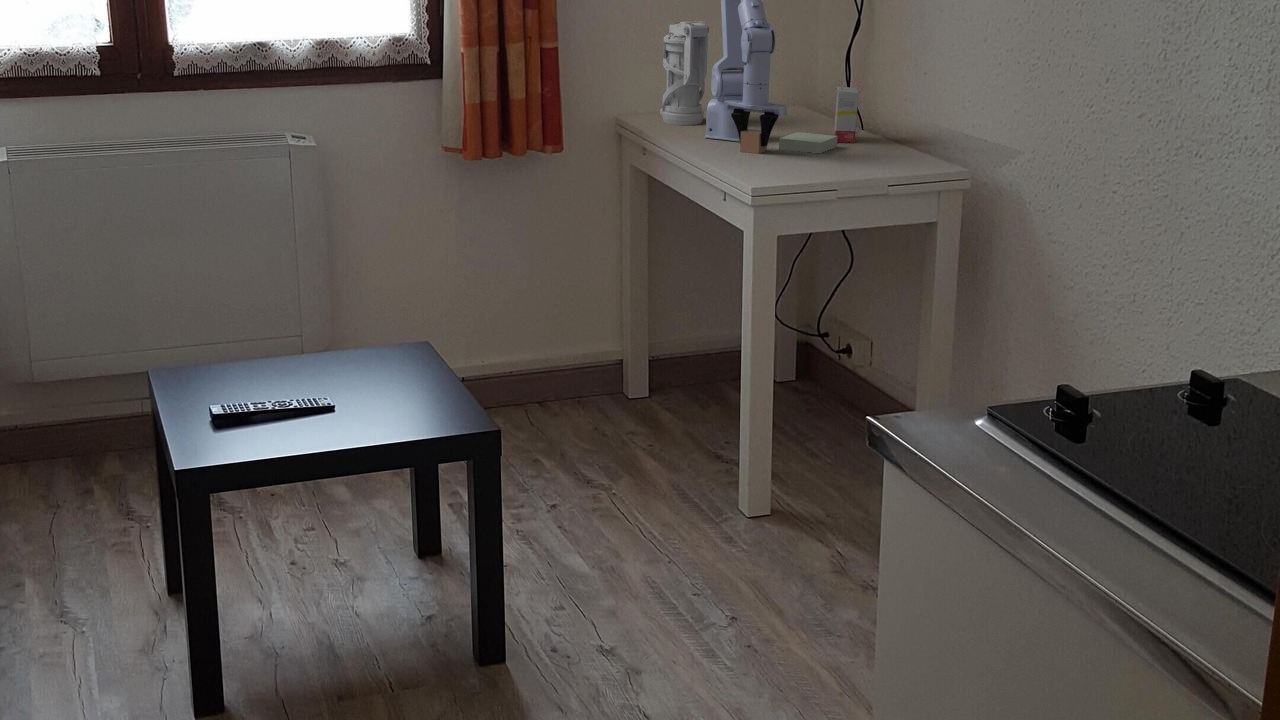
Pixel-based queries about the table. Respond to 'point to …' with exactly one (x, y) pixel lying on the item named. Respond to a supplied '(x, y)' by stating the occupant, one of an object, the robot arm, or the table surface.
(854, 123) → the ink box
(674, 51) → the lantern
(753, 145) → the terracotta cube
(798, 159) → the table surface
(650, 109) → the table surface
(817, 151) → the sage slab
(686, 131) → the table surface
